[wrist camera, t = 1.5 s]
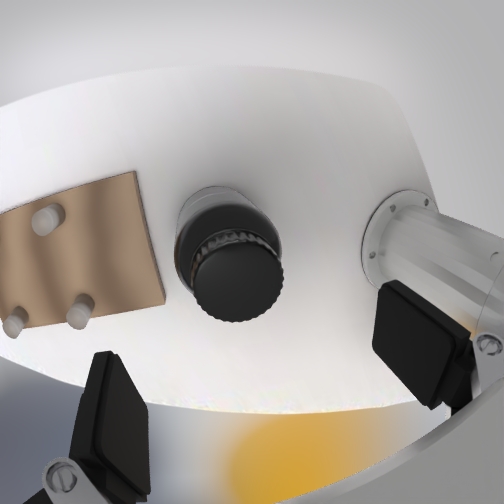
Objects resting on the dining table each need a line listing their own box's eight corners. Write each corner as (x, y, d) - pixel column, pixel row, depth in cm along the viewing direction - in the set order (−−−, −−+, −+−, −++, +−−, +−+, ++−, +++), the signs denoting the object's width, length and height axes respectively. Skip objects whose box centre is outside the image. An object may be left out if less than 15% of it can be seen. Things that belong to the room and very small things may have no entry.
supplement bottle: (205, 169, 24) (223, 186, 13) (268, 212, 26) (329, 260, 15) (162, 236, 25) (148, 305, 14) (225, 272, 27) (256, 354, 16)
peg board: (135, 170, 22) (124, 175, 18) (165, 296, 27) (163, 322, 22) (-26, 225, 19) (-49, 238, 15) (12, 324, 23) (-4, 346, 19)
